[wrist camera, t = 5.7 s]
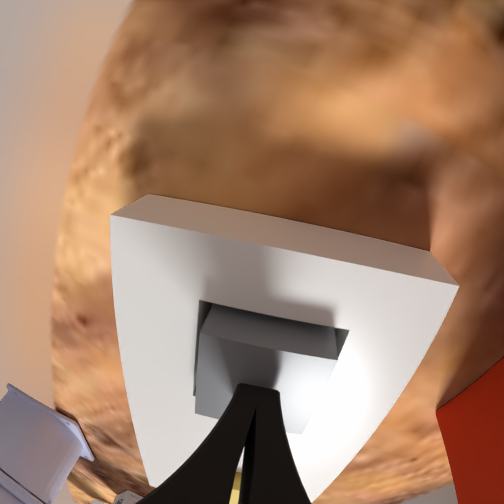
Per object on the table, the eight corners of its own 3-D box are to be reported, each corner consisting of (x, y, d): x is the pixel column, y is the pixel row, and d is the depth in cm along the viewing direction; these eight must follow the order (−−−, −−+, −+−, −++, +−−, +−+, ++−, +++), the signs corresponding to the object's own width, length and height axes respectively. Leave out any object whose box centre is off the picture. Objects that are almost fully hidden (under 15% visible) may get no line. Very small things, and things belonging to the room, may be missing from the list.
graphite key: (212, 365, 14) (194, 413, 11) (221, 286, 12) (200, 332, 10) (304, 383, 14) (301, 434, 11) (332, 309, 12) (337, 360, 9)
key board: (160, 458, 21) (149, 485, 19) (148, 193, 12) (109, 214, 10) (300, 487, 21) (297, 516, 18) (430, 251, 12) (459, 286, 9)
